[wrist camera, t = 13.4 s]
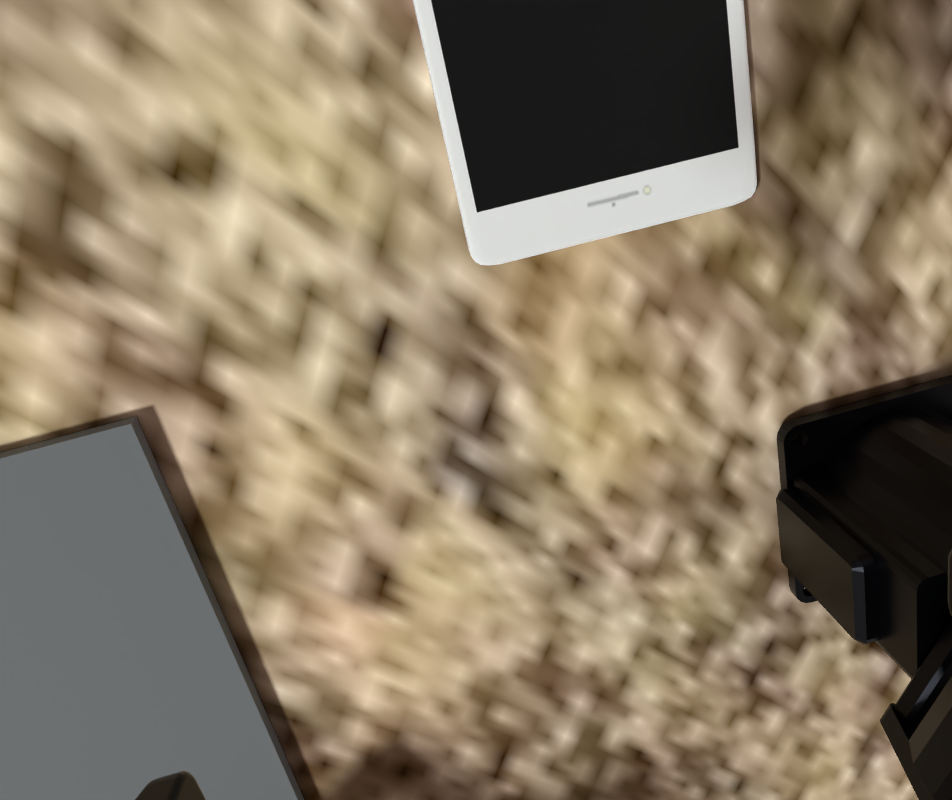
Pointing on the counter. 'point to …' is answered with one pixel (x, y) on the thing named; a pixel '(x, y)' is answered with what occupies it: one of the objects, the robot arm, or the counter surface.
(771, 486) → the counter surface
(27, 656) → the rubber mat
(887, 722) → the robot arm
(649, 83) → the cell phone
